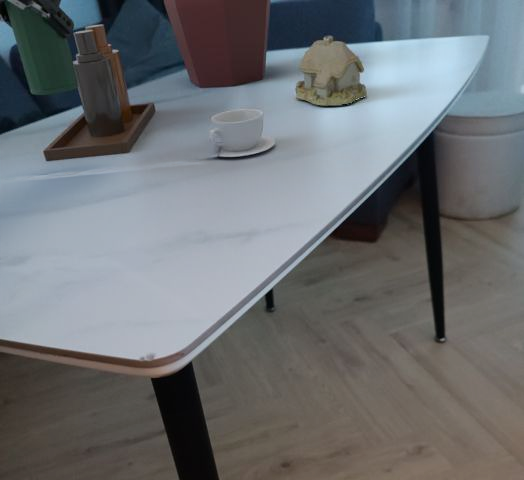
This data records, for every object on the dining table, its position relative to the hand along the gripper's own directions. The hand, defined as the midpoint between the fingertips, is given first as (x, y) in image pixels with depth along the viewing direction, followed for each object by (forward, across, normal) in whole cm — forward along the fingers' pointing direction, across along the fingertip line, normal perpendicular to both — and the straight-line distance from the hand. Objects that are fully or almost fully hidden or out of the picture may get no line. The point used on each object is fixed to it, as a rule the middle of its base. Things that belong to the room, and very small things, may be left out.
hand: (50, 32), depth 74 cm
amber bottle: (+28, +13, -4) cm, 31 cm away
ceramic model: (+43, -19, -18) cm, 51 cm away
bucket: (+55, +12, -29) cm, 63 cm away
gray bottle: (+24, +10, 0) cm, 25 cm away
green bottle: (+3, 0, +6) cm, 7 cm away
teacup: (+22, -18, +3) cm, 28 cm away
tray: (+24, +9, +2) cm, 25 cm away
